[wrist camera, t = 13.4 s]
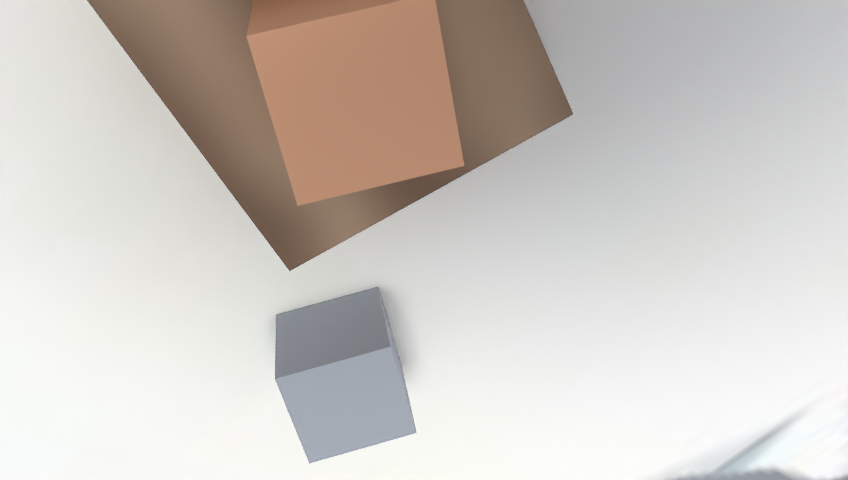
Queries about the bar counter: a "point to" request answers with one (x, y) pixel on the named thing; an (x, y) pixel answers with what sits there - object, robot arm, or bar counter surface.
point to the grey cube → (341, 375)
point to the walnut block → (254, 132)
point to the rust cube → (355, 92)
